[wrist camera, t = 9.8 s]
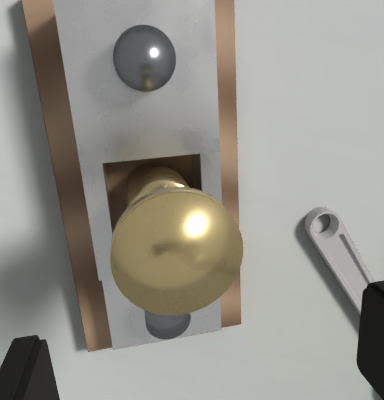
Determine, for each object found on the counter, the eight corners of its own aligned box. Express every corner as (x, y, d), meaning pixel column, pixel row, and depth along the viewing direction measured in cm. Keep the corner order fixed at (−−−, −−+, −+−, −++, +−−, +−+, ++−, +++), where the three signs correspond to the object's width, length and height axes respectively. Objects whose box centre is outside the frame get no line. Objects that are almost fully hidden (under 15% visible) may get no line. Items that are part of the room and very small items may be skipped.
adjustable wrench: (293, 216, 29) (304, 224, 28) (361, 175, 29) (376, 180, 28) (387, 403, 38) (399, 418, 36) (440, 371, 38) (454, 384, 36)
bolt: (198, 223, 26) (244, 303, 17) (119, 234, 25) (119, 325, 16) (193, 144, 24) (241, 185, 15) (107, 153, 23) (100, 203, 14)
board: (236, 315, 30) (240, 324, 29) (89, 341, 28) (88, 351, 27) (228, -10, 23) (233, -15, 22) (25, -5, 21) (20, -9, 20)
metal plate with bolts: (216, 317, 29) (234, 361, 24) (113, 335, 27) (112, 385, 23) (201, 5, 22) (223, -14, 17) (61, 10, 20) (45, -10, 16)
